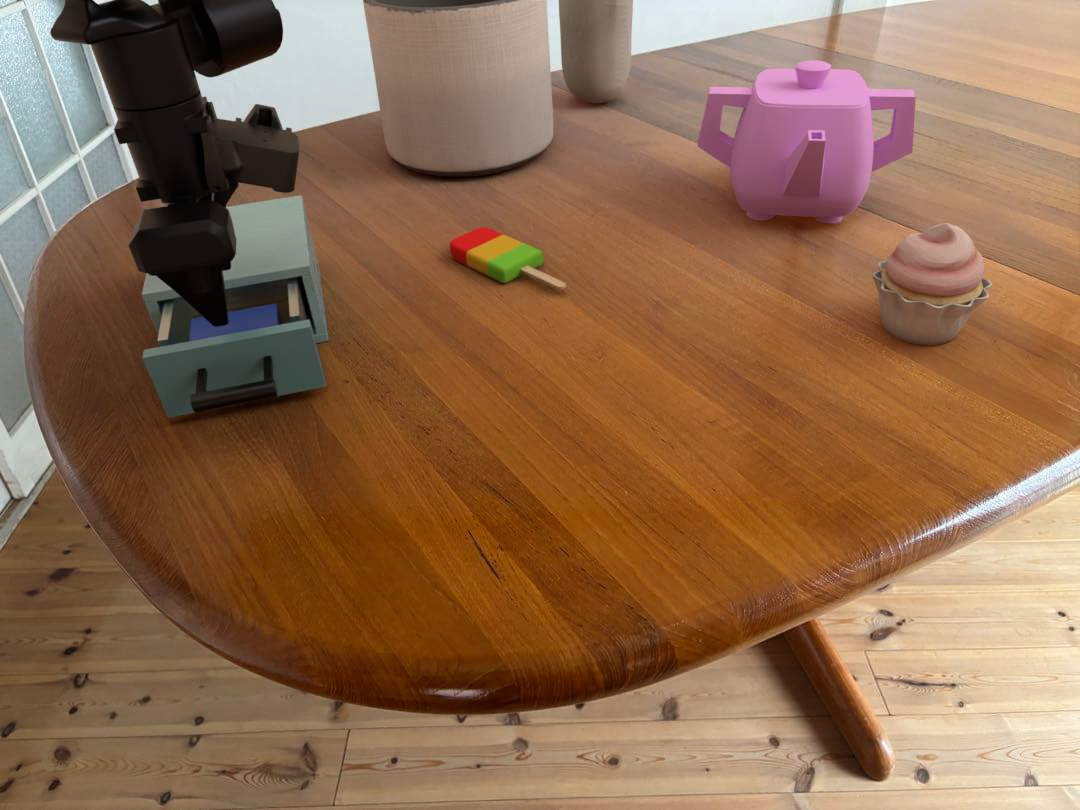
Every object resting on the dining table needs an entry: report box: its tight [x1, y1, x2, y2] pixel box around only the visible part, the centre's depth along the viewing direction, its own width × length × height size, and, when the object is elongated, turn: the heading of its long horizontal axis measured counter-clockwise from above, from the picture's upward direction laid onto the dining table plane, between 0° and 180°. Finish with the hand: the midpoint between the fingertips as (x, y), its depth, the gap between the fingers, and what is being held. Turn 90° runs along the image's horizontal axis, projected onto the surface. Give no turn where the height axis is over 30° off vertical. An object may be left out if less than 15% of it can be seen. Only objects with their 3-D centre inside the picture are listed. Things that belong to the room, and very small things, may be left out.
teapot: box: [697, 59, 917, 224], centre depth 88 cm, size 19×18×15 cm
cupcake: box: [871, 222, 993, 346], centre depth 69 cm, size 9×9×10 cm
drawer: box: [142, 276, 327, 419], centre depth 69 cm, size 20×13×6 cm, turn 16°
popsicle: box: [449, 226, 567, 290], centre depth 83 cm, size 6×15×2 cm, turn 44°
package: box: [189, 304, 282, 341], centre depth 68 cm, size 5×7×4 cm, turn 106°
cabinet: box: [141, 195, 330, 344], centre depth 78 cm, size 16×14×8 cm
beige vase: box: [558, 0, 634, 104], centre depth 116 cm, size 10×10×28 cm
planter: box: [362, 0, 555, 178], centre depth 105 cm, size 23×23×20 cm
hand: (223, 295), depth 66 cm, fingers open, 9 cm apart
